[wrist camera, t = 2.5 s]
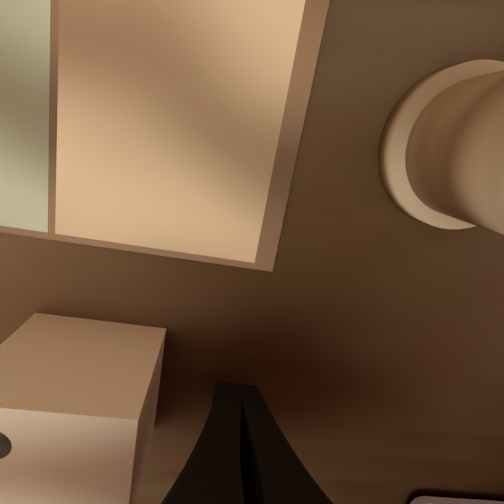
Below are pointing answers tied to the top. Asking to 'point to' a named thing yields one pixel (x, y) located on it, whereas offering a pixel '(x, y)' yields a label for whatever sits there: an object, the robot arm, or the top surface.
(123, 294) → the top surface
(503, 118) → the pawn
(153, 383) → the die
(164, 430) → the top surface
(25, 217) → the board
